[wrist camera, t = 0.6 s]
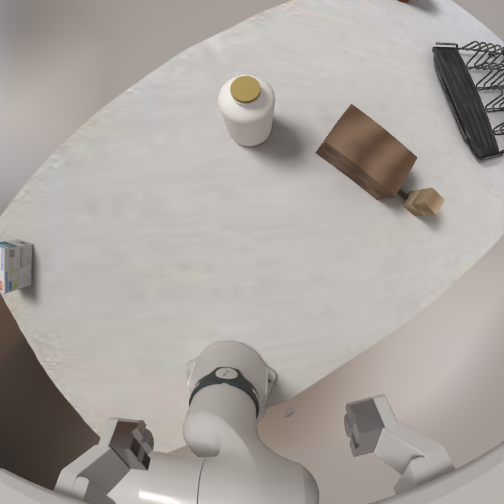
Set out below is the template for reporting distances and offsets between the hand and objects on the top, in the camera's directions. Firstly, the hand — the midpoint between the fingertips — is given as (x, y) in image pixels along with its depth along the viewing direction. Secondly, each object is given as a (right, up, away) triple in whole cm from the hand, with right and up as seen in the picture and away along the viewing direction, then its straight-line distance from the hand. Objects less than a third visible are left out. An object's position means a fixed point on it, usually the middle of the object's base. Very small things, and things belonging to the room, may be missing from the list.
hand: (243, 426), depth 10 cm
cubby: (+22, +25, +43) cm, 54 cm away
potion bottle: (0, +30, +43) cm, 53 cm away
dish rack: (+66, +48, +40) cm, 91 cm away
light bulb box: (-56, +4, +47) cm, 74 cm away
